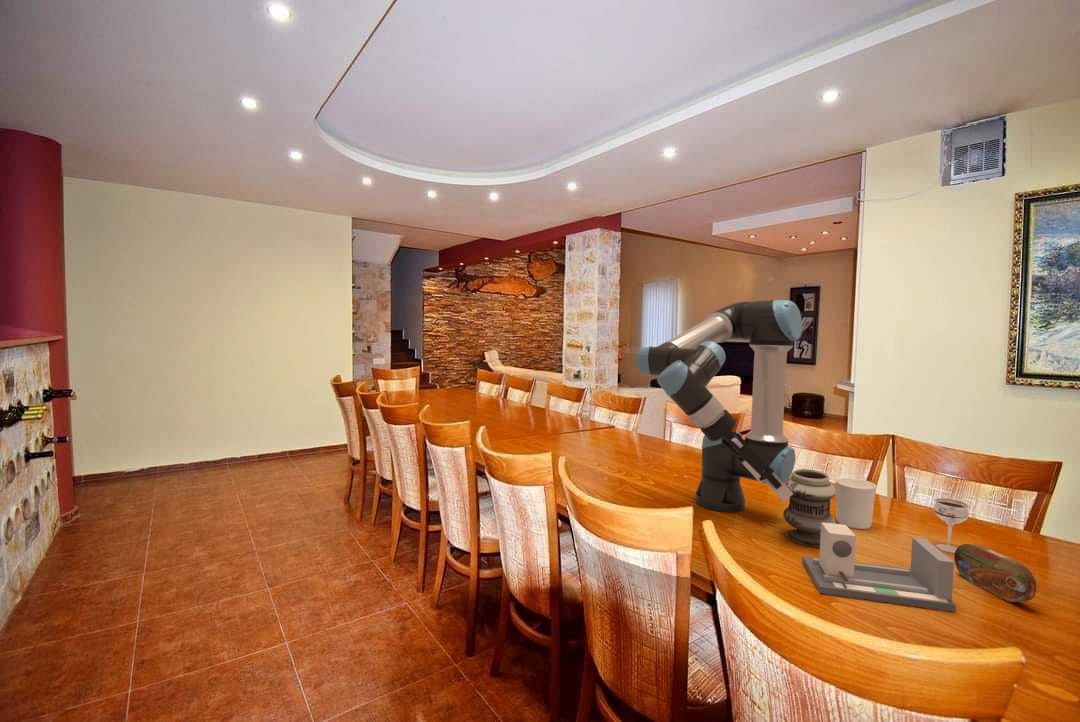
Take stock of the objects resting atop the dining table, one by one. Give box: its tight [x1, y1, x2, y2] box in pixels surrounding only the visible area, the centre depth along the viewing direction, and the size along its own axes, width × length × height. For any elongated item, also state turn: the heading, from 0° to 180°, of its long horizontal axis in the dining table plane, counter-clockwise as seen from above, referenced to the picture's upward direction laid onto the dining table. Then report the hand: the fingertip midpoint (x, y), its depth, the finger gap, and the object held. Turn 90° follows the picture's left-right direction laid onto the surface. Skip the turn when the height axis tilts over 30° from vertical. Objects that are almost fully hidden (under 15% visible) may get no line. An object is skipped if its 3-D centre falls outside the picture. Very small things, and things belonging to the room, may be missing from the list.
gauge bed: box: [801, 537, 957, 613], centre depth 103 cm, size 24×14×10 cm, turn 74°
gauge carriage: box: [819, 522, 857, 581], centre depth 103 cm, size 5×9×10 cm, turn 164°
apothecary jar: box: [782, 468, 836, 548], centre depth 125 cm, size 12×12×18 cm
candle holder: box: [834, 477, 877, 530], centre depth 135 cm, size 10×10×12 cm
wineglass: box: [933, 497, 970, 554], centre depth 120 cm, size 7×7×12 cm
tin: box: [953, 543, 1037, 603], centre depth 101 cm, size 15×3×8 cm, turn 5°
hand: (775, 488), depth 107 cm, fingers open, 13 cm apart
